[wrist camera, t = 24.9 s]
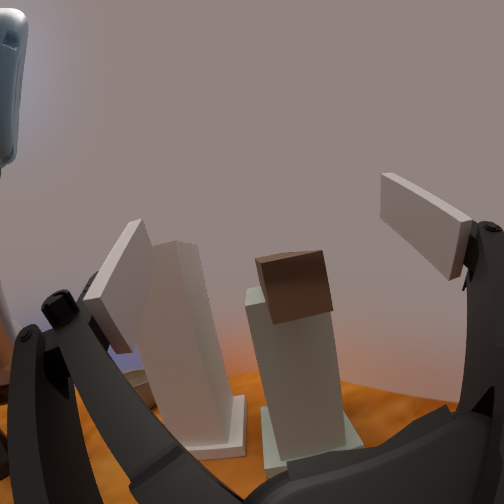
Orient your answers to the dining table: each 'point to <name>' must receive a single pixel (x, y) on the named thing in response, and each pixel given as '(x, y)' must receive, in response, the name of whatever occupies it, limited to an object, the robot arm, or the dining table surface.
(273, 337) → the post
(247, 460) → the dining table surface
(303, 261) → the walnut beam
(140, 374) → the beige round bowl
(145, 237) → the robot arm
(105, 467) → the dining table surface
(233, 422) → the tall stand
